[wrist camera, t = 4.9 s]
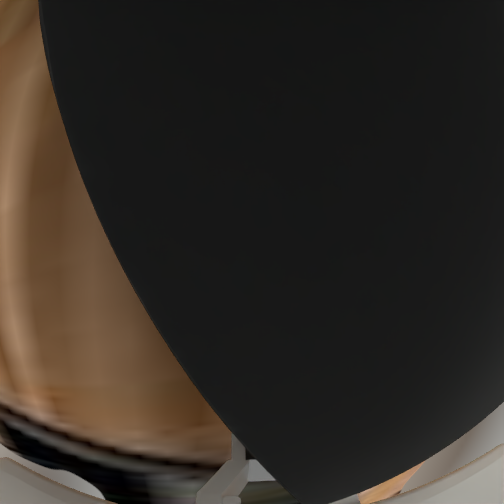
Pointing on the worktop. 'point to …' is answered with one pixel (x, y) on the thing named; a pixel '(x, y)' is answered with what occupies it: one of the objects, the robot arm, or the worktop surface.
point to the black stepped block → (304, 212)
